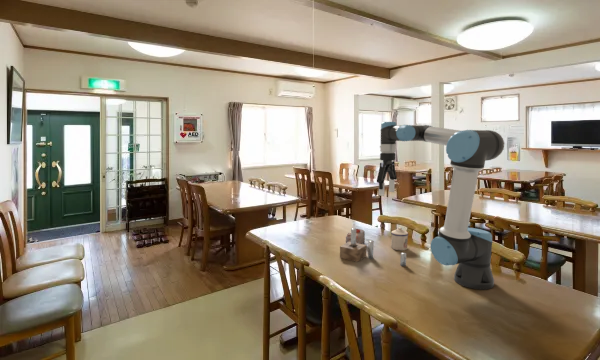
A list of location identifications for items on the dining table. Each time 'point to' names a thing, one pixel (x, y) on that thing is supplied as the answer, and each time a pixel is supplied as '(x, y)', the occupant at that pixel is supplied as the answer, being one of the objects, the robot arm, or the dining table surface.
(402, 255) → the pin short
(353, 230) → the pin long
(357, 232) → the food item
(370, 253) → the pin medium
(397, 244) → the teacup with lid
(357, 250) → the hole block
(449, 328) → the dining table surface
